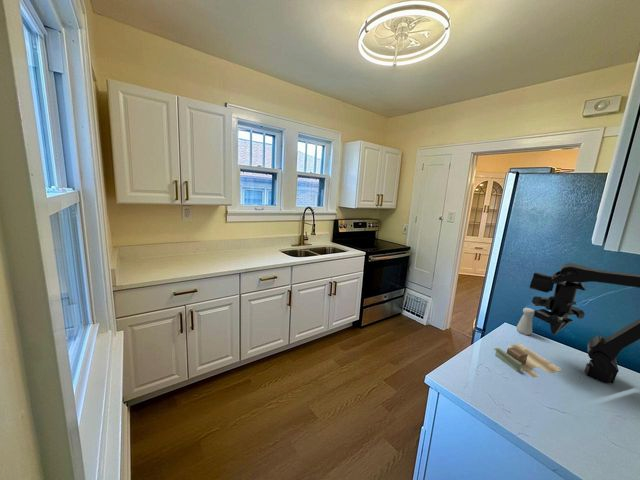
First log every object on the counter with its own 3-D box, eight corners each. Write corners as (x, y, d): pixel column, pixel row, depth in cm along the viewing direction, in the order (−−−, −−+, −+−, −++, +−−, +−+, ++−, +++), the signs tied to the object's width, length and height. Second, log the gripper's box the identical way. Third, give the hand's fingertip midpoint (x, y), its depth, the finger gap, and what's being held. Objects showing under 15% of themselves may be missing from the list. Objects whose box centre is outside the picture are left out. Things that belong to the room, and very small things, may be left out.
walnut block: (513, 356, 103) (516, 346, 102) (525, 364, 98) (528, 354, 97) (505, 358, 101) (507, 348, 100) (516, 366, 97) (519, 355, 96)
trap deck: (519, 346, 111) (521, 337, 110) (562, 372, 97) (565, 363, 96) (486, 352, 106) (488, 343, 105) (526, 381, 92) (529, 371, 91)
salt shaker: (518, 336, 119) (524, 310, 115) (513, 329, 124) (519, 305, 121) (533, 339, 117) (540, 313, 114) (527, 332, 122) (534, 307, 119)
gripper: (556, 285, 107) (547, 319, 111) (523, 290, 102) (515, 325, 105) (590, 297, 97) (579, 334, 100) (555, 303, 91) (545, 341, 95)
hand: (553, 333), depth 101 cm, fingers closed
